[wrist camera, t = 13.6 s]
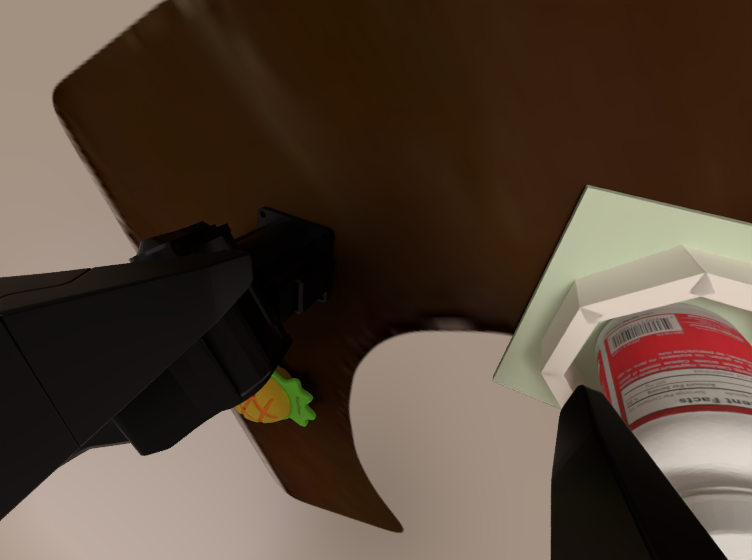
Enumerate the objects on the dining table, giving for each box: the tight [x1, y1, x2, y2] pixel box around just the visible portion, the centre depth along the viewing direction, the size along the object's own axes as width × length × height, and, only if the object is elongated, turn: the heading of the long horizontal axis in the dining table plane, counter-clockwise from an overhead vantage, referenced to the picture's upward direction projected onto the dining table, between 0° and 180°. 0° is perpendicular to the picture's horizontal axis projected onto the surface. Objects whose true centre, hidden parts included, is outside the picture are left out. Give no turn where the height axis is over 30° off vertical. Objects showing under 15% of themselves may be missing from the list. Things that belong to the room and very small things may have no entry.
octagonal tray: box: [493, 185, 752, 409], centre depth 17 cm, size 14×14×4 cm
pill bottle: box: [595, 303, 752, 560], centre depth 14 cm, size 6×6×11 cm
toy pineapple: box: [235, 365, 316, 426], centre depth 33 cm, size 7×10×5 cm
